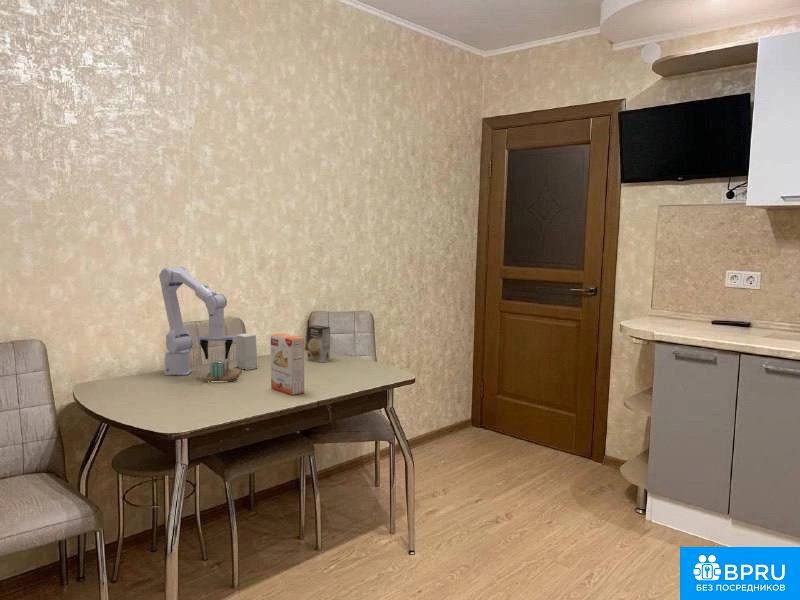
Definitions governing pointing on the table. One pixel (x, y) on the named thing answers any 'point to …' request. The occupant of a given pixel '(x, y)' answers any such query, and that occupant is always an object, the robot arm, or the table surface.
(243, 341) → the skincare box
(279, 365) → the cracker box
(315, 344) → the coffee box
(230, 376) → the gear board
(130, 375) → the table surface
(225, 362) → the fixed gear
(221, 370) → the green grooved hollow block
